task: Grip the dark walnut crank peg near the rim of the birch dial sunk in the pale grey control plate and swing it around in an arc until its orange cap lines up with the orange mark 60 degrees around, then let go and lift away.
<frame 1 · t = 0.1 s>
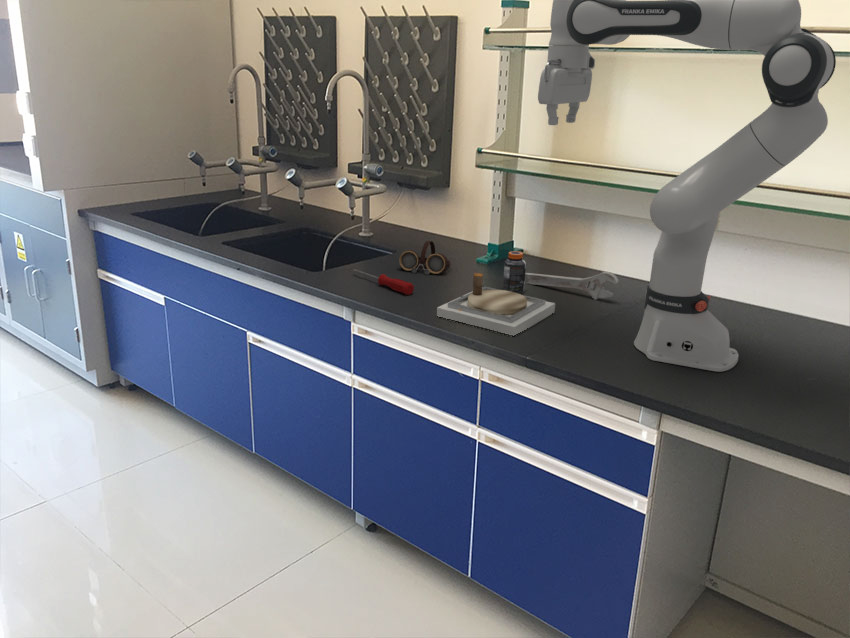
hand: (561, 123, 165), 48 cm above the worktop, tool pointing down, fingers open, 8 cm apart
wrench: (565, 293, 203), on the worktop
control plate: (496, 314, 184), on the worktop
screwdriver: (380, 285, 206), on the worktop
pill bottle: (513, 292, 203), on the worktop
dial: (497, 291, 182), point 6 cm above the worktop, hinge at 0.0°
goggles: (426, 269, 222), on the worktop
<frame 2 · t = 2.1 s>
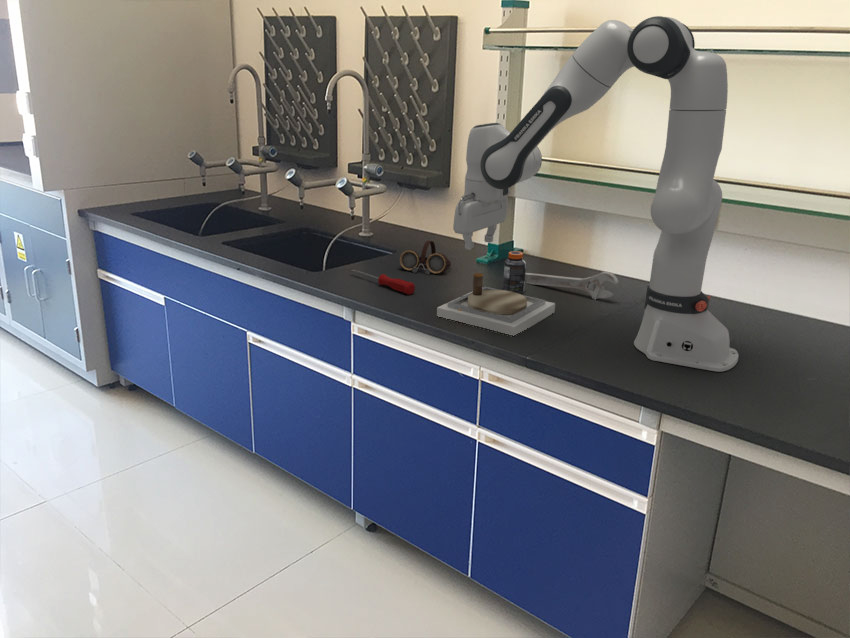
hand: (479, 245, 181), 17 cm above the worktop, tool pointing down, fingers open, 8 cm apart
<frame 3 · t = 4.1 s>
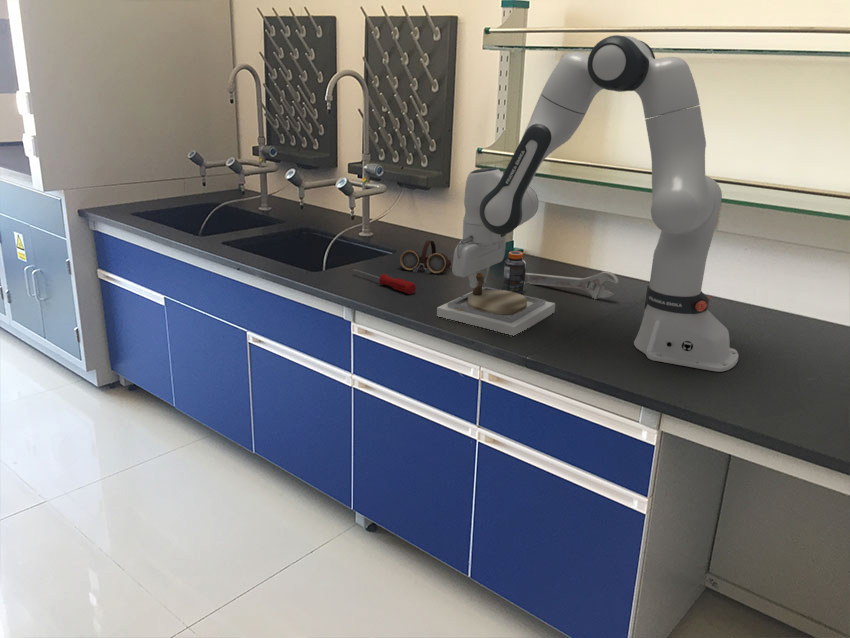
hand: (477, 285, 185), 7 cm above the worktop, tool pointing down, fingers closed on dial, 2 cm apart
dial: (497, 291, 182), point 6 cm above the worktop, hinge at 0.0°, touching gripper
everything else where it was.
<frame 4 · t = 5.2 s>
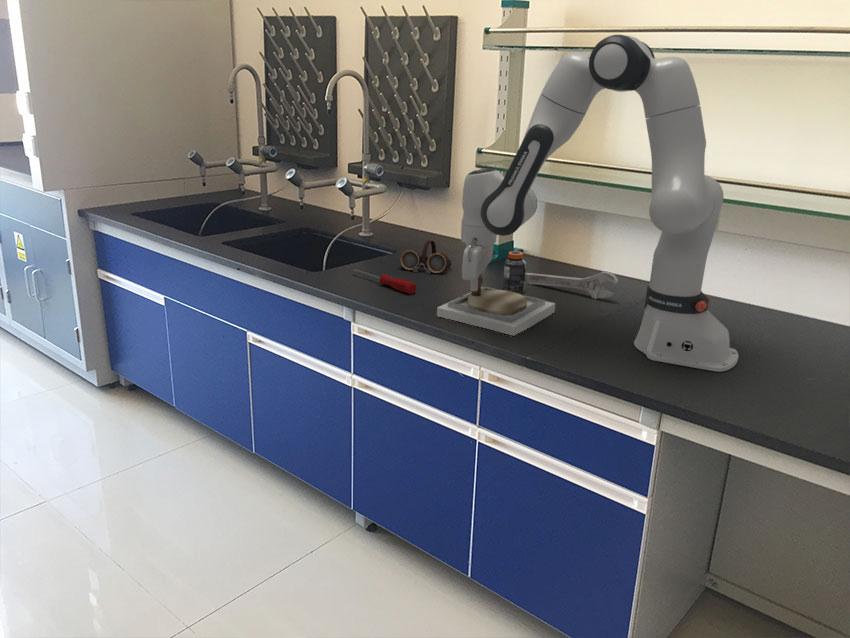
hand: (476, 287, 183), 7 cm above the worktop, tool pointing down, fingers open, 4 cm apart
dial: (497, 291, 182), point 6 cm above the worktop, hinge at 6.4°, touching gripper
everything else where it was.
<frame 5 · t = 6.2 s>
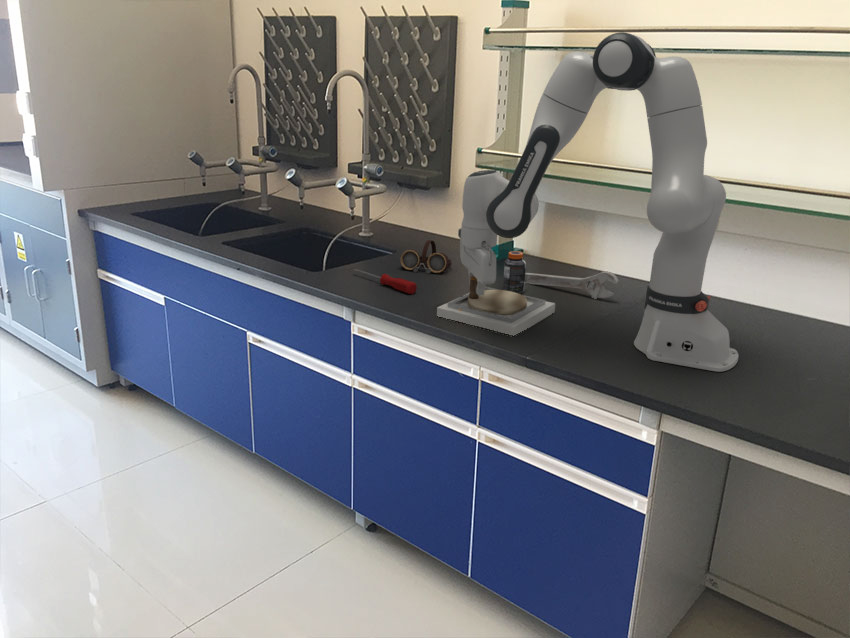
hand: (476, 290, 181), 7 cm above the worktop, tool pointing down, fingers open, 5 cm apart
dial: (497, 291, 182), point 6 cm above the worktop, hinge at 30.7°, touching gripper
everything else where it was.
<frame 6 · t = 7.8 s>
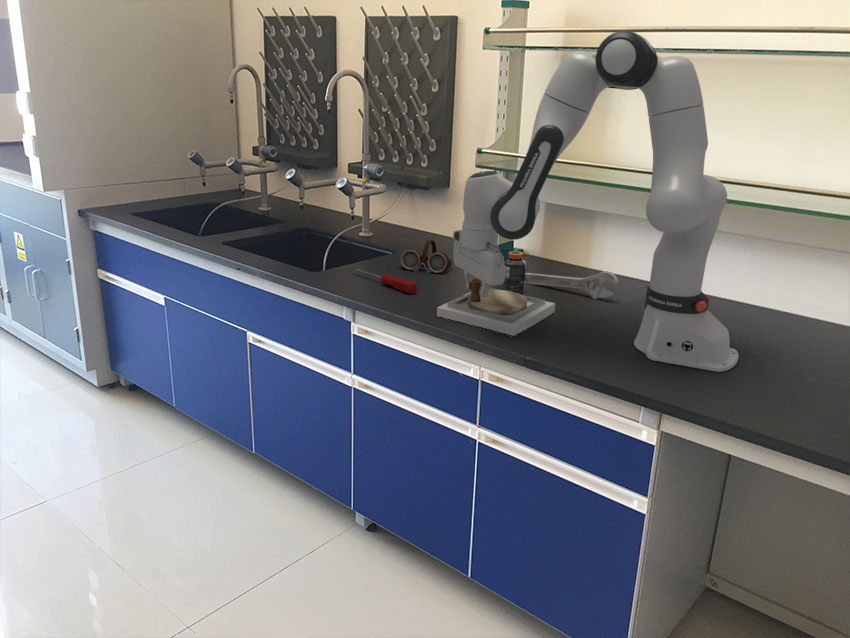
hand: (477, 292, 179), 7 cm above the worktop, tool pointing down, fingers open, 5 cm apart
dial: (497, 291, 182), point 6 cm above the worktop, hinge at 53.4°
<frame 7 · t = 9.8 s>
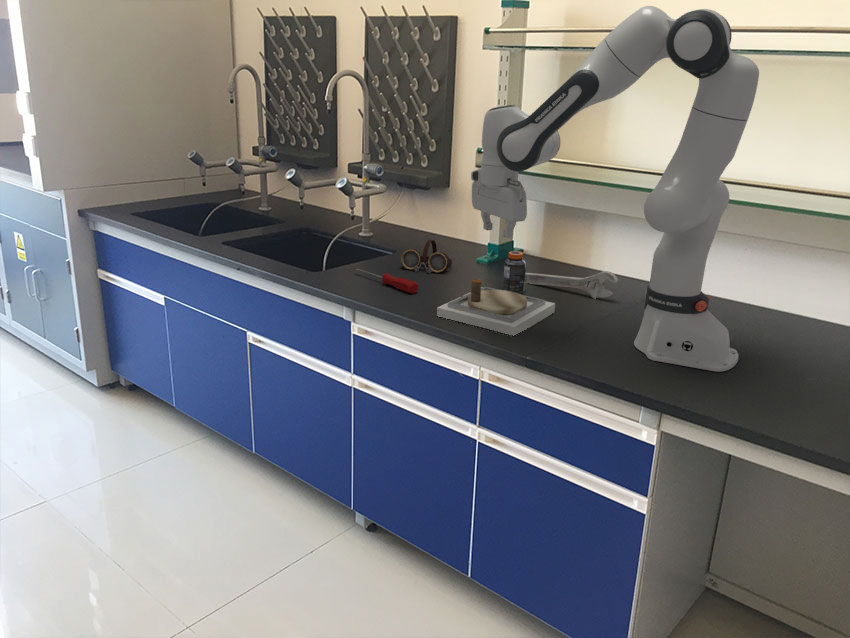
hand: (497, 233, 175), 22 cm above the worktop, tool pointing down, fingers open, 8 cm apart
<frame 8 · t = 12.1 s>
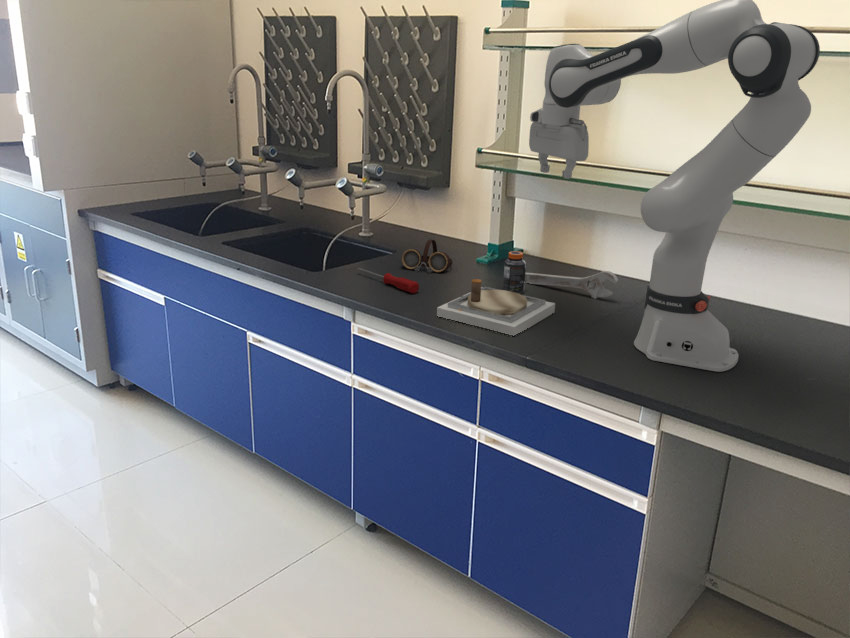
hand: (555, 175, 176), 35 cm above the worktop, tool pointing down, fingers open, 8 cm apart
at the end: dial at +53° (first picture: +0°); the gripper is holding nothing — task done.
